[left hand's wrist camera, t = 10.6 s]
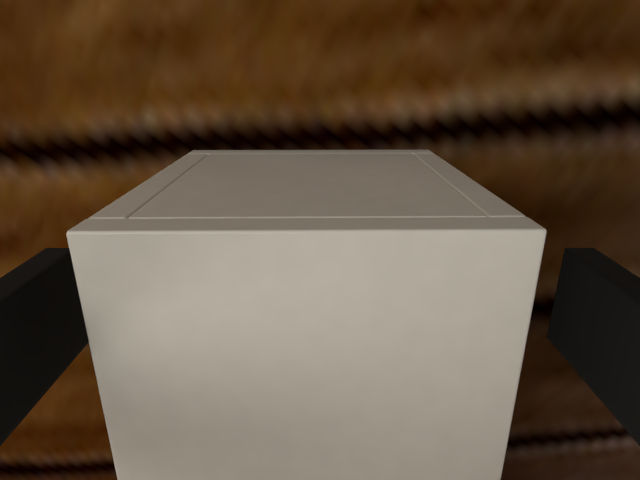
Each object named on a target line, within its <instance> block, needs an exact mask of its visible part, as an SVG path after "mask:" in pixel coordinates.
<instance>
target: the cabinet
mask: <svg viewBox="0 0 640 480" xmlns="http://www.w3.org/2000/svg"><path fill="white" fill-rule="evenodd" d="M546 233H547V232H546V229H545V228H543V227H542V226H540V225H539V224H537V223H536V222H535V221H533V220H532V219H530V218H528V217H526V216H525V215H524V214H522V213H521V212H519V211H518V210H516V209H515V208H513V207H512V206H510V205H509V204H507V203H506V202H505V201H503V200H502V199H500V198H499V197H497V196H496V195H494V194H493V193H491V192H490V191H488V190H487V189H485V188H484V187H483V186H481V185H480V184H478V183H477V182H475V181H474V180H472V179H471V178H469V177H468V176H466V175H465V174H464V173H462V172H461V171H459V170H458V169H456V168H455V167H453V166H452V165H450V164H449V163H447V162H446V161H444V160H443V159H442V158H440V157H439V156H437V155H436V154H434V153H433V152H431V151H430V150H193V151H191V152H190V153H188V154H187V155H185V156H183V157H182V158H180V159H179V160H177V161H176V162H174V163H173V164H171V165H170V166H168V167H166V168H165V169H163V170H162V171H160V172H159V173H157V174H156V175H154V176H153V177H151V178H150V179H148V180H146V181H145V182H143V183H142V184H140V185H139V186H137V187H136V188H134V189H133V190H131V191H130V192H128V193H126V194H125V195H123V196H122V197H120V198H119V199H117V200H116V201H114V202H113V203H111V204H109V205H108V206H106V207H105V208H103V209H102V210H100V211H99V212H97V213H96V214H94V215H93V216H91V217H89V219H86V220H84V221H82V222H81V223H79V224H78V225H76V226H75V227H73V228H72V229H70V230H68V231H67V234H66V235H67V240H68V244H69V249H70V254H71V259H72V263H73V268H74V273H75V278H76V283H77V287H78V292H79V297H80V302H81V306H82V311H83V316H84V321H85V326H86V330H87V335H88V340H89V345H90V349H91V354H92V359H93V364H94V369H95V373H96V378H97V383H98V388H99V392H100V397H101V402H102V407H103V412H104V416H105V421H106V426H107V431H108V435H109V440H110V445H111V450H112V455H113V459H114V464H115V469H116V474H117V478H118V480H501V475H502V470H503V464H504V459H505V454H506V448H507V443H508V438H509V432H510V427H511V421H512V416H513V411H514V405H515V400H516V394H517V389H518V384H519V378H520V373H521V368H522V362H523V357H524V351H525V346H526V341H527V335H528V330H529V324H530V319H531V314H532V308H533V303H534V298H535V292H536V287H537V281H538V276H539V271H540V265H541V260H542V254H543V249H544V244H545V238H546Z"/></svg>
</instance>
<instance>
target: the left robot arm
mask: <svg viewBox="0 0 640 480" xmlns="http://www.w3.org/2000/svg"><path fill="white" fill-rule="evenodd" d="M547 338H548V339H549V340H550V341H551V342H552V343H553V345H554V346H555V347H556V348H557V349H558V350H559V352H560V353H561V354H562V355H563V356H564V358H565V359H566V360H567V361H568V362H569V363H570V365H571V366H572V367H573V368H574V369H575V370H576V372H577V373H578V374H579V375H580V376H581V378H582V379H583V380H584V381H585V382H586V383H587V385H588V386H589V387H590V388H591V389H592V390H593V392H594V393H595V394H596V395H597V396H598V398H599V399H600V400H601V401H602V402H603V403H604V405H605V406H606V407H607V408H608V409H609V410H610V412H611V413H612V414H613V415H614V416H615V417H616V419H617V420H618V421H619V422H620V423H621V425H622V426H623V427H624V428H625V429H626V430H627V432H628V433H629V434H630V435H631V436H632V437H633V439H634V440H635V441H636V442H637V443H638V445H639V446H640V278H639V277H637V276H636V275H634V274H633V273H631V272H630V271H628V270H626V269H625V268H623V267H622V266H620V265H619V264H617V263H616V262H614V261H613V260H611V259H610V258H608V257H606V256H605V255H603V254H602V253H600V252H599V251H597V250H596V249H594V248H565V251H564V256H563V261H562V265H561V270H560V275H559V280H558V285H557V290H556V295H555V299H554V304H553V309H552V314H551V319H550V324H549V329H548V333H547ZM88 342H89V340H88V335H87V330H86V326H85V321H84V316H83V311H82V306H81V302H80V297H79V292H78V287H77V283H76V278H75V273H74V268H73V263H72V259H71V254H70V249H69V248H46V249H44V250H43V251H41V252H40V253H38V254H37V255H35V256H34V257H32V258H30V259H29V260H27V261H26V262H24V263H23V264H21V265H20V266H18V267H17V268H15V269H14V270H12V271H10V272H9V273H7V274H6V275H4V276H3V277H1V278H0V446H1V445H2V443H3V442H4V441H5V440H6V439H7V437H8V436H9V435H10V434H11V433H12V432H13V430H14V429H15V428H16V427H17V426H18V425H19V423H20V422H21V421H22V420H23V419H24V417H25V416H26V415H27V414H28V413H29V412H30V410H31V409H32V408H33V407H34V406H35V405H36V403H37V402H38V401H39V400H40V399H41V398H42V396H43V395H44V394H45V393H46V392H47V390H48V389H49V388H50V387H51V386H52V385H53V383H54V382H55V381H56V380H57V379H58V378H59V376H60V375H61V374H62V373H63V372H64V370H65V369H66V368H67V367H68V366H69V365H70V363H71V362H72V361H73V360H74V359H75V358H76V356H77V355H78V354H79V353H80V352H81V350H82V349H83V348H84V347H85V346H86V345H87V343H88Z"/></svg>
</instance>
